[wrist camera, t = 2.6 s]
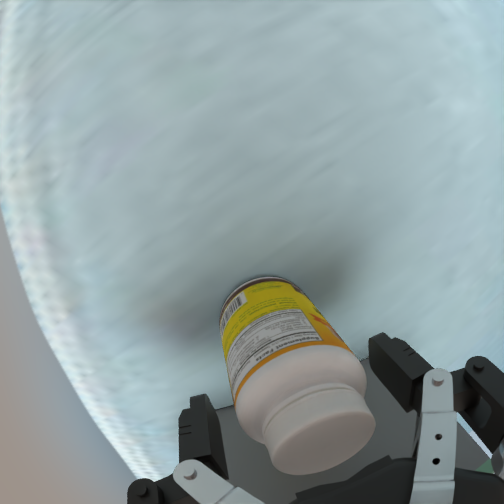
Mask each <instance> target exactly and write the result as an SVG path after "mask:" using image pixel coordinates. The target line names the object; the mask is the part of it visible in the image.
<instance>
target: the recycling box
mask: <svg viewBox="0 0 504 504" xmlns="http://www.w3.org/2000/svg"><path fill="white" fill-rule="evenodd" d="M360 363H361V364H362V366H363V368H364V371H365V374H366V380H367V385H366V392H365V395H364V400H365V402H366V405H367V407H368V408H369V410H370V412H371V413H372V415H373V417H374V419H375V430H374V432H373V435H372V437H371V438H370V440H369V441H368V442H367V444H366V445H365V446H364V447H363V448H362V449H361V450H360V451H358V452H357V453H356V454H355V455H353V456H352V457H351V458H349V459H347V460H346V461H344V462H342V463H341V464H339V465H337V466H334V467H332V468H330V469H327V470H324V471H321V472H317V473H312V474H306V475H291V474H286V473H283V472H281V471H279V470H277V469H276V468H275V467H274V466H273V464H272V461H271V458H270V455H269V452H268V449H267V447H266V446H265V444H262V443H260V442H258V441H256V440H254V439H252V438H251V437H250V436H248V435H247V434H246V433H245V432H244V430H243V429H242V427H241V426H240V424H239V421H238V418H237V414H236V411H235V406H234V405H233V406H230V407H226V408H222V409H218V410H215V411H216V413H217V416H218V418H219V422H220V426H221V433H222V439H223V446H224V452H225V458H226V463H227V469H228V475H229V480H225V481H227V482H228V483H230V484H231V485H233V486H235V487H236V486H237V487H239V488H241V489H243V490H244V491H246V492H248V493H249V494H251V495H252V496H254V497H255V498H257V499H259V500H260V501H262V502H264V503H265V504H289V503H290V502H292V501H293V500H295V499H297V497H296V495H295V493H298V492H301V491H304V490H307V489H310V488H313V487H315V486H318V485H323V484H330V483H336V482H341V481H345V480H347V479H349V478H350V477H352V476H353V475H355V474H356V473H357V472H359V471H360V470H362V469H363V468H364V467H366V466H367V465H369V464H371V463H373V462H375V461H377V460H379V459H381V458H383V457H385V456H387V455H389V456H390V457H391V459H396V458H404V457H410V454H411V450H412V445H413V438H414V431H415V422H416V415H417V412H416V411H415V410H412V411H410V412H408V413H406V412H405V410H404V409H403V408H402V407H401V405H400V404H399V403H398V402H397V401H396V399H395V398H394V397H393V396H392V394H391V393H390V392H389V391H388V390H387V388H386V387H385V386H384V385H383V384H382V382H381V381H380V380H379V379H378V377H377V376H376V375H375V374H374V373H373V371H372V369H371V367H370V364H369V358H367V359H365V360H362V361H360ZM455 467H457V468H462V469H468V470H474V471H480V472H486V473H492V474H493V473H494V471H493V467H492V465H491V459H490V458H489V457H488V455H487V454H486V453H485V452H484V451H483V450H482V449H481V447H480V446H479V445H478V444H477V443H476V442H475V441H474V440H473V439H472V437H471V436H470V435H469V434H468V433H467V432H466V430H465V429H464V428H463V427H462V426H461V425H460V424H459V423H458V422H457V434H456V456H455Z"/></svg>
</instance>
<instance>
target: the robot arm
mask: <svg viewBox="0 0 504 504" xmlns="http://www.w3.org/2000/svg"><path fill="white" fill-rule="evenodd" d="M368 343H369V364H370V367H371V369H372V371H373V373H374V374H375V375H376V376H377V377H378V379H379V380H380V381H381V382H382V384H383V385H384V386H385V387H386V388H387V390H388V391H389V392H390V393H391V394H392V396H393V397H394V398H395V399H396V401H397V402H398V403H399V404H400V405H401V407H402V408H403V409H404V410H405V412H406V413H408V412H410V411H412V410H415V411H416V412H417V415H416V422H415V431H414V438H413V445H412V450H411V454H410V457H404V458H396V459H391V457H390V456H389V455H387V456H385V457H383V458H381V459H379V460H377V461H375V462H373V463H371V464H369V465H367V466H366V467H364V468H363V469H362V470H360V471H359V472H357V473H356V474H355V475H353V476H352V477H350V478H349V479H347V480H345V481H341V482H336V483H330V484H323V485H318V486H315V487H313V488H310V489H307V490H304V491H301V492H298V493H295V495H296V497H297V499H295V500H293V501H292V502H290V503H289V504H504V373H503V372H502V371H501V370H500V369H498V368H497V367H496V366H495V365H494V364H493V363H492V362H491V361H489V360H488V359H487V358H485V357H482V356H475V357H472V358H470V359H469V360H468V361H467V363H466V366H465V368H463V369H459V370H456V371H453V372H449V371H447V370H445V369H441V368H436V369H434V368H433V367H432V366H431V365H430V364H429V363H428V362H427V361H426V360H424V359H423V358H422V357H421V356H420V355H419V354H418V353H416V351H415V350H414V349H412V348H411V347H410V346H409V345H408V344H407V343H406V342H405V341H403V340H400V339H398V338H393V339H390V338H389V337H388V336H387V335H386V334H385V333H383V332H382V333H380V334H378V335H375V336H373V337H371V338H369V341H368ZM457 412H458V413H459V414H460V415H461V416H462V417H463V419H464V420H465V421H466V422H467V423H468V425H469V426H470V427H471V428H472V429H473V431H474V432H475V433H476V434H477V435H478V437H479V438H480V439H481V440H482V442H483V443H484V444H485V445H486V447H487V448H488V449H489V450H490V452H491V453H492V454H493V455H492V458H491V465H492V467H493V471H494V473H495V474H492V473H486V472H480V471H474V470H468V469H462V468H457V467H455V456H456V434H457V414H456V413H457ZM225 480H229V475H228V469H227V463H226V458H225V452H224V446H223V439H222V433H221V426H220V422H219V418H218V416H217V413H216V411H215V410H214V408H213V406H212V404H211V402H210V400H209V398H208V396H207V394H201V395H197V396H193V397H190V408H189V409H184V410H182V413H181V415H180V417H179V464H178V465H177V466H176V467H175V469H174V471H173V473H172V474H171V475H170V476H168V477H165V478H163V479H161V480H158V481H156V482H153V481H152V480H150V479H146V478H142V479H138V480H136V481H134V482H133V483H132V484H131V485H130V486H129V488H128V492H127V497H128V499H127V504H265V503H264V502H262V501H260V500H259V499H257V498H255V497H254V496H252V495H251V494H249V493H248V492H246V491H244V490H243V489H241V488H239V487H237V486H236V487H235V486H233V485H231V484H230V483H228V482H227V481H225Z"/></svg>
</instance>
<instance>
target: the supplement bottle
mask: <svg viewBox="0 0 504 504" xmlns="http://www.w3.org/2000/svg"><path fill="white" fill-rule="evenodd" d="M219 325H220V333H221V339H222V345H223V350H224V356H225V361H226V366H227V372H228V377H229V382H230V387H231V392H232V397H233V402H234V406H235V411H236V414H237V418H238V421H239V424H240V426H241V427H242V429H243V430H244V432H245V433H246V434H247V435H248V436H250V437H251V438H252V439H254V440H256V441H258V442H260V443H262V444H265V446H266V447H267V449H268V452H269V455H270V458H271V461H272V464H273V466H274V467H275V468H276V469H277V470H279V471H281V472H283V473H286V474H291V475H306V474H312V473H317V472H321V471H324V470H327V469H330V468H332V467H334V466H337V465H339V464H341V463H342V462H344V461H346V460H347V459H349V458H351V457H352V456H353V455H355V454H356V453H357V452H358V451H360V450H361V449H362V448H363V447H364V446H365V445H366V444H367V442H368V441H369V440H370V438H371V437H372V435H373V432H374V430H375V419H374V417H373V415H372V413H371V412H370V410H369V408H368V407H367V405H366V402H365V400H364V395H365V392H366V385H367V380H366V374H365V371H364V368H363V366H362V364H361V363H360V362H359V360H358V359H357V357H356V356H355V355H354V354H353V352H352V351H351V350H350V349H349V348H348V346H347V345H346V344H345V343H344V341H343V340H342V339H341V338H340V336H339V335H338V334H337V333H336V331H335V330H334V329H333V328H332V327H331V325H330V324H329V323H328V322H327V321H326V319H325V318H324V317H323V316H322V314H321V313H320V312H319V311H318V309H317V308H316V307H315V306H314V304H313V303H312V302H311V301H310V300H309V298H308V297H307V296H306V295H305V294H304V293H303V292H302V290H301V289H300V288H299V287H297V286H296V285H295V284H293V283H292V282H290V281H288V280H285V279H282V278H277V277H261V278H257V279H253V280H250V281H248V282H246V283H244V284H242V285H241V286H239V287H238V288H237V289H236V290H234V291H233V292H232V293H231V294H230V296H229V297H228V298H227V300H226V301H225V303H224V305H223V307H222V310H221V313H220V320H219Z"/></svg>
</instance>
